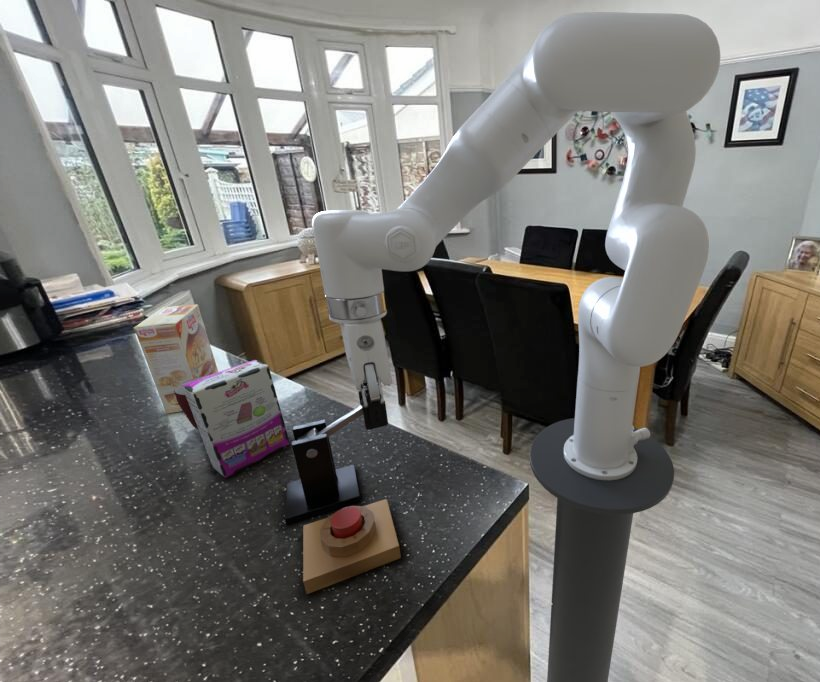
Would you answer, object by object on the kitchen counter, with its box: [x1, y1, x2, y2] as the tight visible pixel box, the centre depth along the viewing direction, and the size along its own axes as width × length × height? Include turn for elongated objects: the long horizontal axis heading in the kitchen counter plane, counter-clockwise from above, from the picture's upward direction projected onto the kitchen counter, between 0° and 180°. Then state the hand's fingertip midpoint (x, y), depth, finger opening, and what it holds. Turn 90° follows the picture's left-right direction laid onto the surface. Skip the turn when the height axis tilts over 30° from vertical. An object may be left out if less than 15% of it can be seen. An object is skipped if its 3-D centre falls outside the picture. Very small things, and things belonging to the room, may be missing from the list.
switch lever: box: [298, 393, 369, 440], centre depth 58 cm, size 13×3×3 cm, turn 116°
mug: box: [174, 375, 209, 431], centre depth 77 cm, size 11×8×10 cm
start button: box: [331, 506, 363, 539], centre depth 51 cm, size 4×4×2 cm
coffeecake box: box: [133, 303, 219, 415], centre depth 86 cm, size 15×7×20 cm, turn 22°
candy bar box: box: [182, 359, 291, 479], centre depth 67 cm, size 11×5×16 cm, turn 147°
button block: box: [302, 498, 402, 595], centre depth 52 cm, size 11×9×4 cm
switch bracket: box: [284, 419, 362, 526], centre depth 59 cm, size 10×8×12 cm
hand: (374, 418), depth 60 cm, fingers open, 3 cm apart
